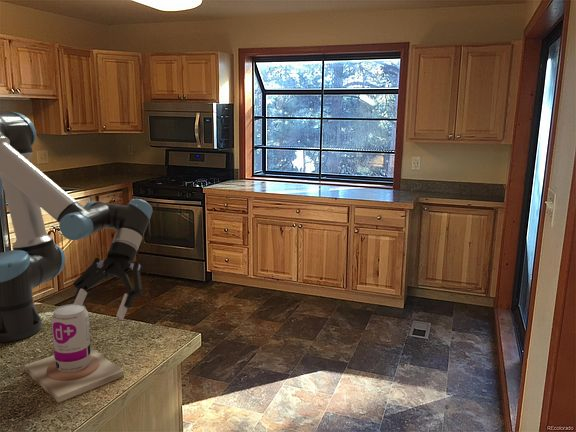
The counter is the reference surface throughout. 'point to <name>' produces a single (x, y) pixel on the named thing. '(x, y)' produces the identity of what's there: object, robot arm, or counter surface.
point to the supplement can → (71, 338)
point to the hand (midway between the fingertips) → (96, 315)
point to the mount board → (73, 376)
